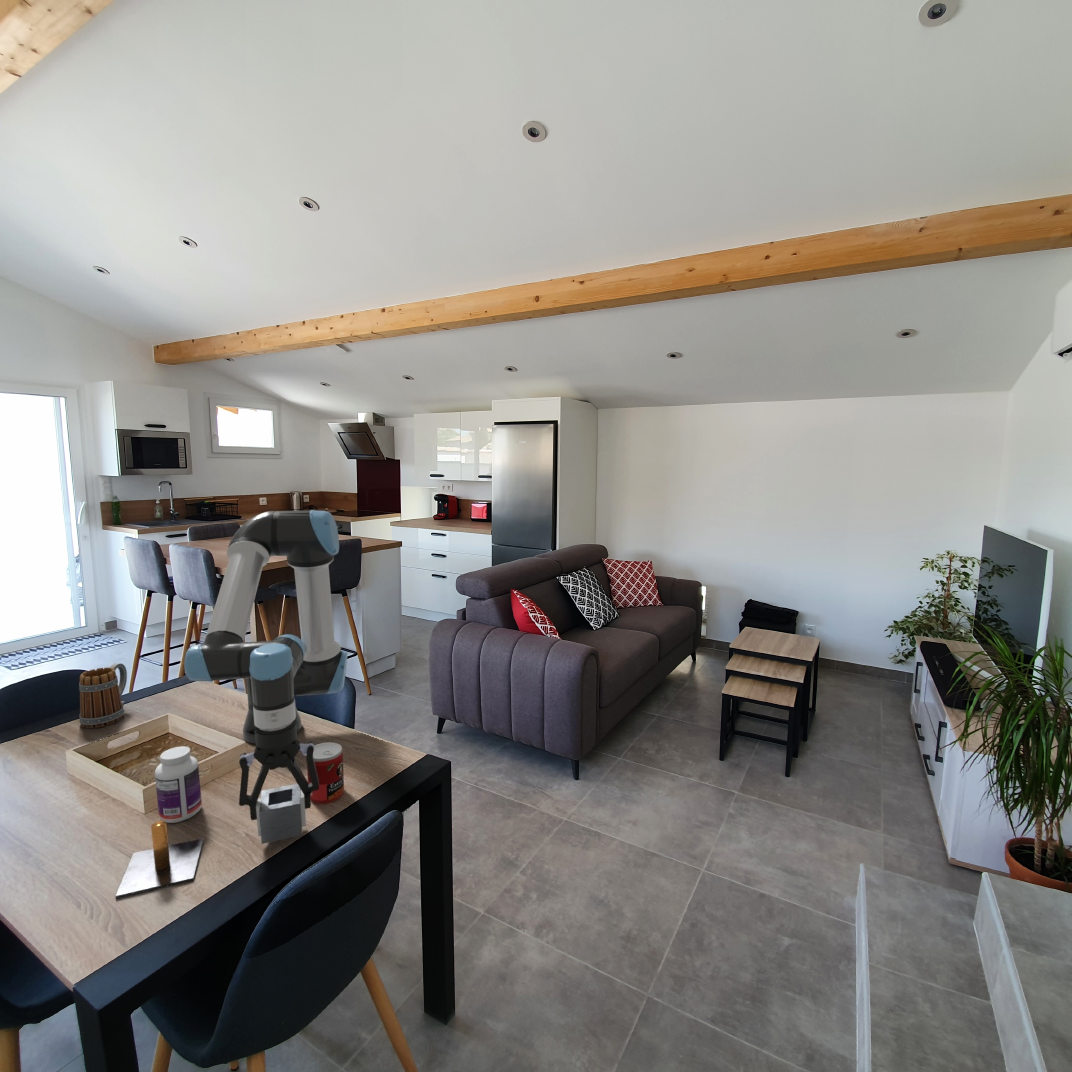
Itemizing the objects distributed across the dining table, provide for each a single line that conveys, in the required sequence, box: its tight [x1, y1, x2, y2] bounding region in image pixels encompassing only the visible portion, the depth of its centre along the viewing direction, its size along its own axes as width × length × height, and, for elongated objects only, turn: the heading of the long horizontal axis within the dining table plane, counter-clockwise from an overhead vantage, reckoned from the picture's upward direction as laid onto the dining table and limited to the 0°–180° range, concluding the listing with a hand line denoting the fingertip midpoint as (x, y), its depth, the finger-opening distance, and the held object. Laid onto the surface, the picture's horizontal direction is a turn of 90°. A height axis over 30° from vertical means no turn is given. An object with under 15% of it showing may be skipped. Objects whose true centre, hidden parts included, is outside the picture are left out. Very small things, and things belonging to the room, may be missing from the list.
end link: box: [259, 783, 303, 845], centre depth 117 cm, size 7×7×7 cm
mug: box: [78, 662, 128, 729], centre depth 171 cm, size 16×11×15 cm
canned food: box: [306, 741, 345, 804], centre depth 133 cm, size 8×8×11 cm
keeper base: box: [115, 820, 204, 900], centre depth 109 cm, size 12×12×9 cm
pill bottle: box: [154, 746, 203, 824], centre depth 125 cm, size 8×8×14 cm
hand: (282, 826), depth 118 cm, fingers closed on end link, 7 cm apart
